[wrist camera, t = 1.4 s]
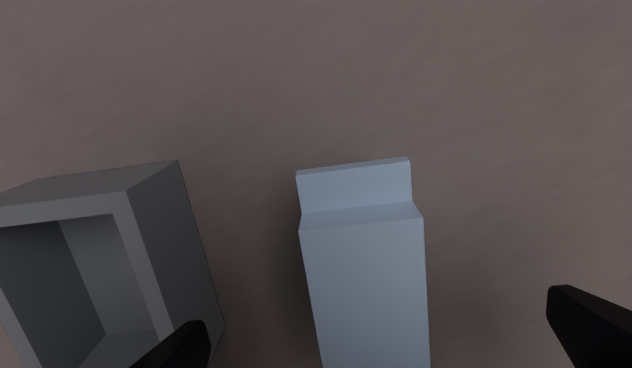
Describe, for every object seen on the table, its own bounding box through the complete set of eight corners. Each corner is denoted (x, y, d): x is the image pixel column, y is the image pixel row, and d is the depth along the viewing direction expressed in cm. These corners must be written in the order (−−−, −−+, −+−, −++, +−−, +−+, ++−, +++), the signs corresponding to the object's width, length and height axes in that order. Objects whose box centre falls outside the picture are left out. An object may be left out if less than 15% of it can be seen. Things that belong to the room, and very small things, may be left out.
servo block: (401, 304, 14) (432, 406, 10) (330, 311, 14) (330, 413, 10) (388, 136, 12) (421, 173, 8) (304, 147, 12) (290, 189, 8)
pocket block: (224, 326, 15) (196, 395, 12) (105, 337, 15) (47, 406, 12) (177, 160, 12) (125, 190, 9) (37, 179, 13) (-58, 214, 10)
